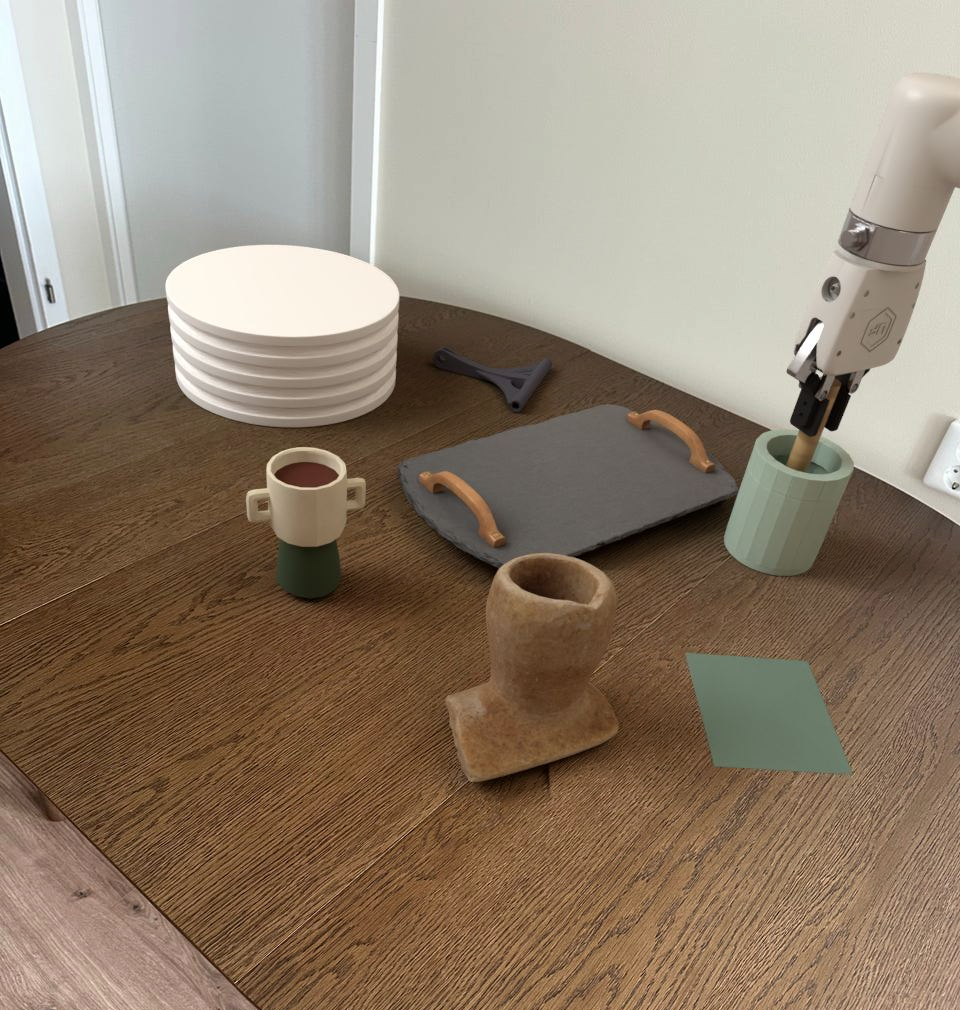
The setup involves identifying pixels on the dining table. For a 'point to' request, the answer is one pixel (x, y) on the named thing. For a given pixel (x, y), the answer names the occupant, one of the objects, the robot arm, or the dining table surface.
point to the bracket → (498, 375)
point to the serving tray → (564, 483)
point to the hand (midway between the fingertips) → (813, 426)
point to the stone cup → (538, 669)
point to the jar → (786, 505)
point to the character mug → (307, 516)
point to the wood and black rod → (808, 445)
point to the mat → (765, 715)
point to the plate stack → (283, 334)
